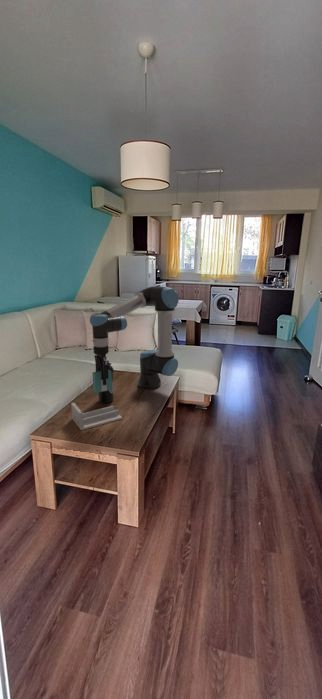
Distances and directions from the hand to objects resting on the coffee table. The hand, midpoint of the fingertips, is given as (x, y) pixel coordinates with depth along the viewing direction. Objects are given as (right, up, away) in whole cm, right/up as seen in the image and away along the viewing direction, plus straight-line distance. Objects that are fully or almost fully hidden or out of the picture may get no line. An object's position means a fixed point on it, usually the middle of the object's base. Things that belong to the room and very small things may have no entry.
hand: (102, 389), depth 170 cm
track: (-3, -16, +2) cm, 16 cm away
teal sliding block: (0, -1, 0) cm, 1 cm away
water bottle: (-2, -10, +24) cm, 26 cm away
